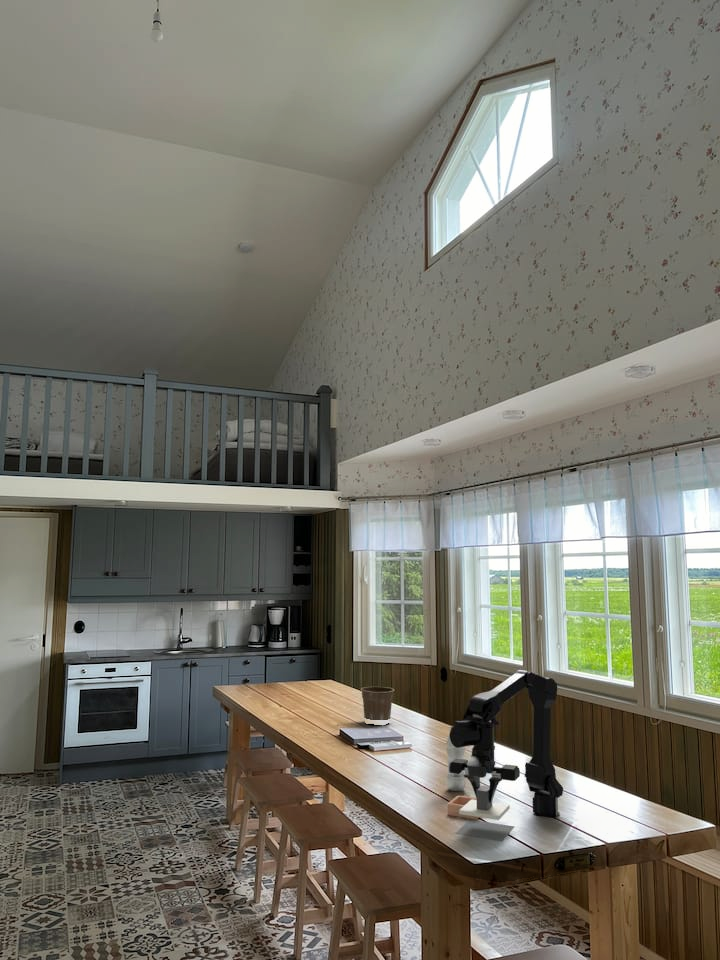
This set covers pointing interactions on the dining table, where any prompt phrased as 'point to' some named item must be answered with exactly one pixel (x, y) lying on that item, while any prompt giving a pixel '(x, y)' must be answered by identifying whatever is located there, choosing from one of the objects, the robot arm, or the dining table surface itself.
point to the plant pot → (377, 702)
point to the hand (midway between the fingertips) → (484, 801)
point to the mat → (485, 830)
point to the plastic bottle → (454, 780)
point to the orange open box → (459, 806)
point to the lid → (484, 806)
